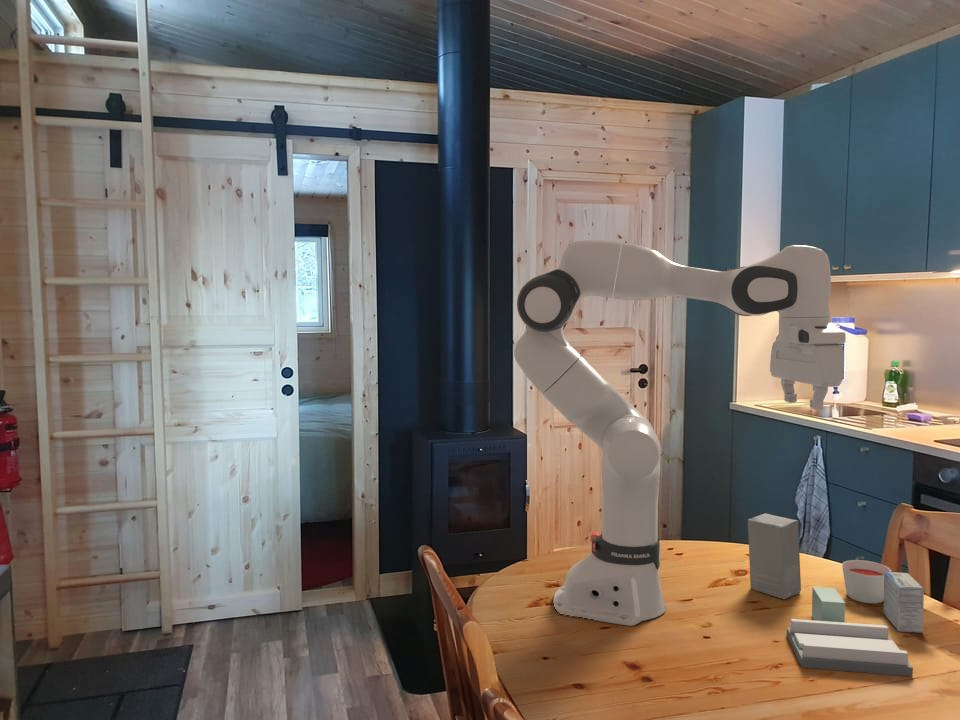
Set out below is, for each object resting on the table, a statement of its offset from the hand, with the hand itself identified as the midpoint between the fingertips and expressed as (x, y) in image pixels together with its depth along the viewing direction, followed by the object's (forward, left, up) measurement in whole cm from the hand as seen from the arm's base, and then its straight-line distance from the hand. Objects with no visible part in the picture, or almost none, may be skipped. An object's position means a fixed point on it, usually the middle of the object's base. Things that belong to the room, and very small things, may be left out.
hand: (803, 405), depth 137 cm
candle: (+16, +14, -42) cm, 47 cm away
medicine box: (+19, +2, -42) cm, 46 cm away
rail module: (+5, -1, -42) cm, 42 cm away
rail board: (+5, -13, -42) cm, 44 cm away
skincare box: (-2, +14, -42) cm, 44 cm away
